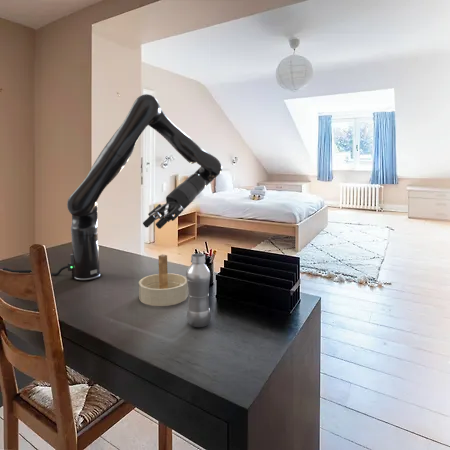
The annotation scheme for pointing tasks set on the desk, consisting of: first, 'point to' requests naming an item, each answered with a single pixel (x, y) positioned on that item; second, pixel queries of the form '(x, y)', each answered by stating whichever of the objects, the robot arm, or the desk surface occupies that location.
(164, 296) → the bowl
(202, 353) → the desk surface
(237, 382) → the desk surface
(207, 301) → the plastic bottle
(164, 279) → the wooden t-shaped block
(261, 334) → the desk surface
